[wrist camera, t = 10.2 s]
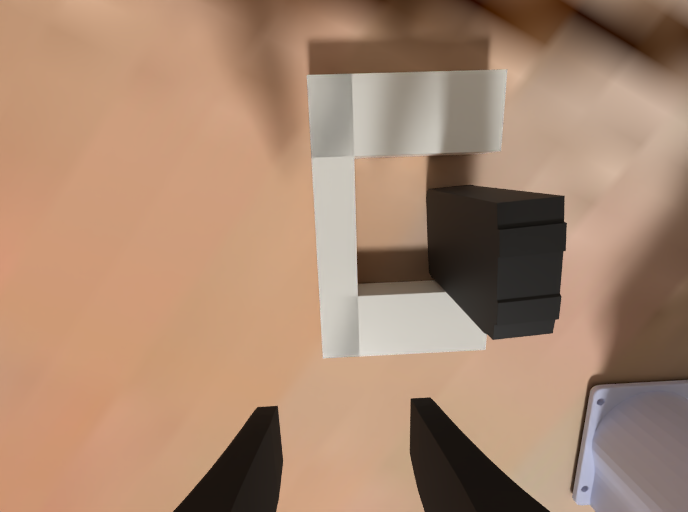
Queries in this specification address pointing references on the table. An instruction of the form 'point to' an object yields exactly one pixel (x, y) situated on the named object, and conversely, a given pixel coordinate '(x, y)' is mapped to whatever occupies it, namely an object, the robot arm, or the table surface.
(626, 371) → the table surface
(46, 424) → the table surface
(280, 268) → the table surface
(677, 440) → the robot arm
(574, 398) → the table surface
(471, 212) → the ink cartridge
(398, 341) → the groove holder
